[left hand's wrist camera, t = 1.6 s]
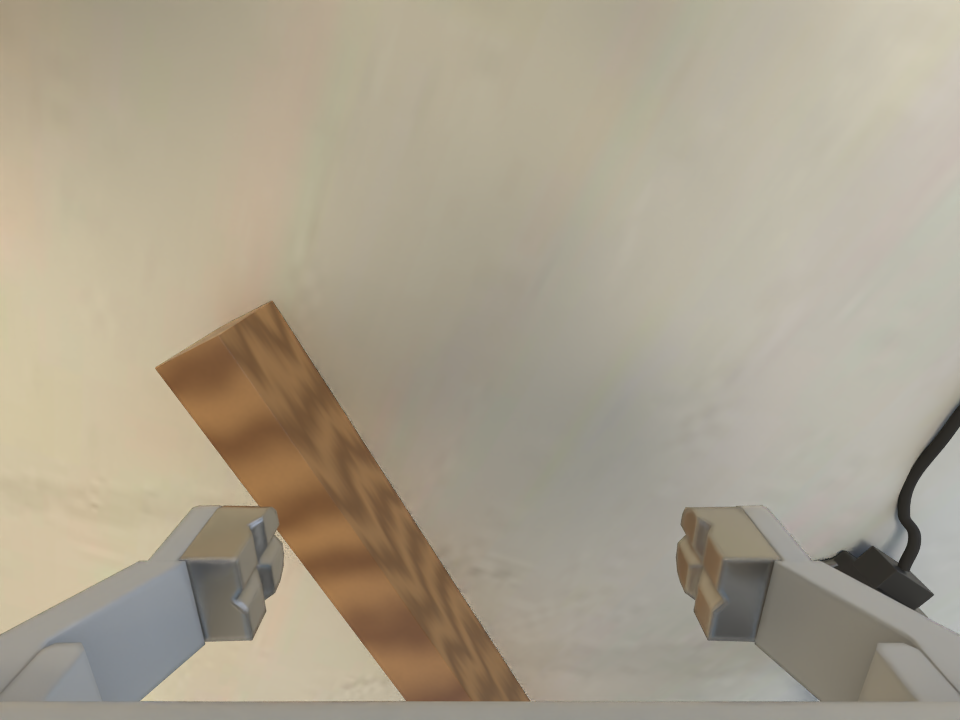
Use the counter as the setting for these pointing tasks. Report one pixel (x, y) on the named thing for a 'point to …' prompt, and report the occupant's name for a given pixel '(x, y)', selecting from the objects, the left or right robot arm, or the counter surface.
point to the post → (336, 507)
